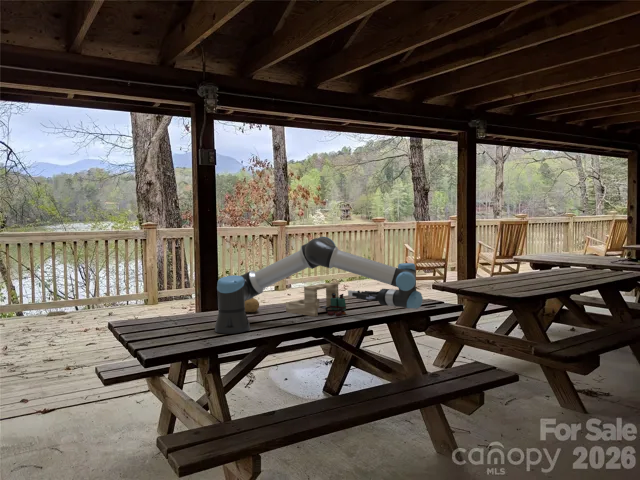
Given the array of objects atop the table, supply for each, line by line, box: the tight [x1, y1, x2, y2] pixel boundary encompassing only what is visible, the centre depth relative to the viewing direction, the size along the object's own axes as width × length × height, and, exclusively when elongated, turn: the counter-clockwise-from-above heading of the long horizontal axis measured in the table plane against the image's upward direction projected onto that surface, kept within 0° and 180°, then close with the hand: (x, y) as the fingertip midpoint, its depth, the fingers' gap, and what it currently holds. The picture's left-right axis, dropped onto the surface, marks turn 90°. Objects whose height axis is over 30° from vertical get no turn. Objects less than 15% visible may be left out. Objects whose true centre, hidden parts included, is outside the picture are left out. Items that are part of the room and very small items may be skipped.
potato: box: [245, 297, 260, 313], centre depth 246 cm, size 10×14×8 cm
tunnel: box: [285, 282, 340, 318], centre depth 243 cm, size 18×21×14 cm
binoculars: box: [324, 293, 347, 317], centre depth 232 cm, size 9×11×10 cm
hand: (349, 293), depth 226 cm, fingers closed
